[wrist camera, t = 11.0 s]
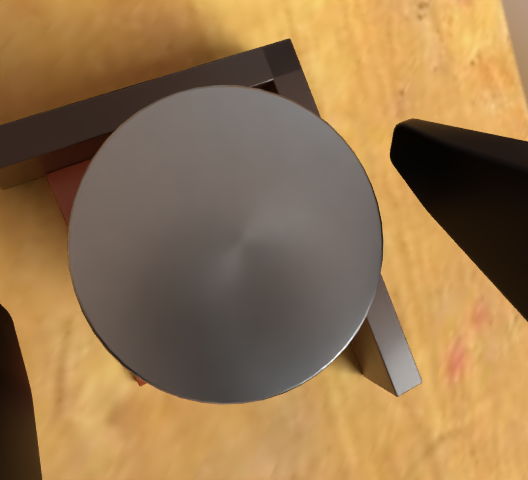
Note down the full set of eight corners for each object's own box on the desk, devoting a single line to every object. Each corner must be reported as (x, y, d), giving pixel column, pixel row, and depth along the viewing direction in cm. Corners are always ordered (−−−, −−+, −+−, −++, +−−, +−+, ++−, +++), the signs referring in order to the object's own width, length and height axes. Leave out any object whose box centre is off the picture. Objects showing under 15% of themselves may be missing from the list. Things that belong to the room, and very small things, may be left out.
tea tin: (285, 295, 16) (415, 342, 8) (142, 342, 15) (123, 458, 7) (247, 156, 16) (342, 59, 8) (98, 191, 15) (20, 117, 6)
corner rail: (387, 364, 18) (423, 382, 15) (144, 500, 15) (141, 548, 13) (271, 68, 17) (290, 37, 14) (-13, 157, 14) (-48, 138, 12)
